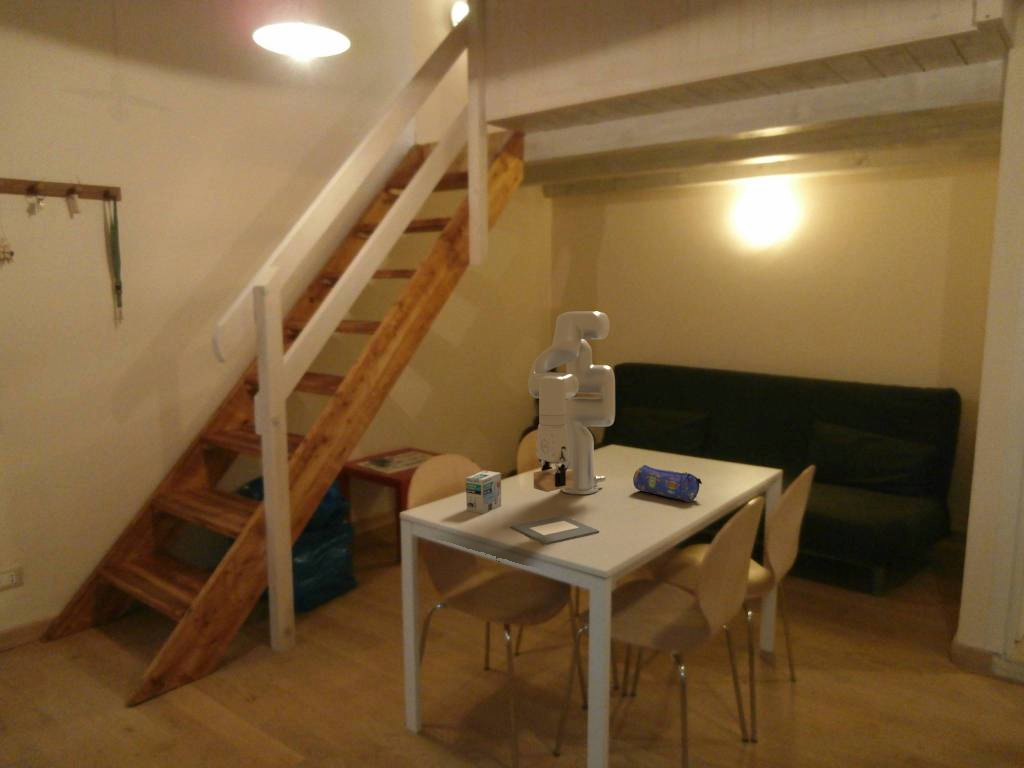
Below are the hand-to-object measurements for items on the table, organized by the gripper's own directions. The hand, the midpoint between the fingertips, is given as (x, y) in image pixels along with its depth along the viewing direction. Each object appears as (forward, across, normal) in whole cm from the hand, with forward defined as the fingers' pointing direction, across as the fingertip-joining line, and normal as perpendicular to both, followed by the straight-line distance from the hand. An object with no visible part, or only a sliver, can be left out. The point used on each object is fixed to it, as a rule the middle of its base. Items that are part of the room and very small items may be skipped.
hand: (553, 483), depth 208 cm
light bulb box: (+14, -30, -6) cm, 34 cm away
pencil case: (+14, -8, +50) cm, 52 cm away
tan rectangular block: (+1, 0, 0) cm, 1 cm away
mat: (+14, 0, 0) cm, 14 cm away
